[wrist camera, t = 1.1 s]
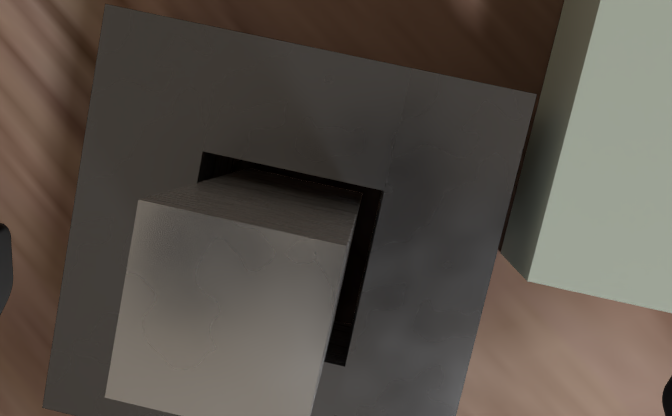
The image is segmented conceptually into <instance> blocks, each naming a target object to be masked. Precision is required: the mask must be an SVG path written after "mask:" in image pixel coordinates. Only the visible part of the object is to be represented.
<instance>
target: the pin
mask: <svg viewBox="0 0 672 416" xmlns="http://www.w3.org/2000/svg"><path fill="white" fill-rule="evenodd" d="M362 194H363V193H361V192H357V191H352V190H348V189H343V188H339V187H334V186H329V185H325V184H320V183H316V182H311V181H307V180H302V179H297V178H293V177H288V176H284V175H279V174H275V173H270V172H266V171H261V170H256V169H252V168H247V169H244V170H240V171H237V172H233V173H230V174H226V175H223V176H219V177H216V178H212V179H209V180H205V181H202V182H198V183H195V184H191V185H188V186H184V187H181V188H177V189H174V190H170V191H167V192H163V193H160V194H156V195H153V196H149V197H146V198H142V199H139V200H138V205H137V211H136V217H135V223H134V229H133V235H132V240H131V246H130V252H129V258H128V264H127V270H126V276H125V282H124V287H123V293H122V299H121V305H120V311H119V317H118V323H117V328H116V334H115V340H114V346H113V352H112V358H111V364H110V370H109V375H108V381H107V387H106V393H105V398H109V399H113V400H117V401H121V402H125V403H130V404H134V405H138V406H142V407H146V408H151V409H155V410H159V411H163V412H167V413H172V414H176V415H180V416H311V412H312V408H313V404H314V400H315V396H316V392H317V388H318V384H319V380H320V376H321V372H322V368H323V364H324V360H325V356H326V352H327V348H328V344H329V340H330V336H331V332H332V328H333V324H334V320H335V316H336V312H337V308H338V304H339V299H340V295H341V290H342V285H343V281H344V276H345V272H346V267H347V263H348V258H349V254H350V249H351V244H352V240H353V235H354V231H355V226H356V222H357V217H358V212H359V208H360V203H361V199H362Z"/></svg>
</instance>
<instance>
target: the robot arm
mask: <svg viewBox="0 0 672 416" xmlns="http://www.w3.org/2000/svg"><path fill="white" fill-rule="evenodd" d="M12 284H13V267H12V249H11V235H10V231H9V229H8V227H7V226H6V225H4V224H2V223H0V315H1V313H2V310H3V308H4V306H5V304H6V302H7V300H8V298H9V296H10V293H11V289H12ZM662 403H663V408H664V412H665V416H672V376H671V378H670V379H669V381H668V382H667V384H666V386H665V388H664V391H663V396H662Z"/></svg>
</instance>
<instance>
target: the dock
mask: <svg viewBox="0 0 672 416" xmlns="http://www.w3.org/2000/svg"><path fill="white" fill-rule="evenodd" d="M501 254H502V255H503V256H504V257H505V258H506V259H507V260H508V261H509V262H510V264H511V265H512V266H513V267H514V268H515V269H516V270H517V271H518V272H519V273H520V274H521V275H522V276H523V277H524V278H525V279H526V280H527V281H529V282H534V283H538V284H543V285H547V286H552V287H556V288H561V289H565V290H570V291H574V292H579V293H583V294H588V295H592V296H597V297H601V298H606V299H610V300H615V301H619V302H624V303H628V304H633V305H637V306H642V307H646V308H651V309H655V310H660V311H664V312H669V313H672V0H564V4H563V8H562V12H561V16H560V20H559V24H558V28H557V32H556V35H555V39H554V43H553V47H552V51H551V55H550V59H549V63H548V67H547V71H546V75H545V79H544V83H543V87H542V91H541V95H540V99H539V103H538V107H537V111H536V115H535V118H534V122H533V126H532V130H531V134H530V138H529V142H528V146H527V150H526V154H525V158H524V162H523V166H522V170H521V174H520V178H519V182H518V186H517V190H516V194H515V197H514V201H513V205H512V209H511V213H510V217H509V221H508V225H507V229H506V233H505V237H504V241H503V245H502V249H501Z"/></svg>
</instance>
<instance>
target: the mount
mask: <svg viewBox="0 0 672 416" xmlns="http://www.w3.org/2000/svg"><path fill="white" fill-rule="evenodd" d="M536 96H537V94H533V93H528V92H523V91H519V90H514V89H509V88H504V87H500V86H495V85H490V84H485V83H481V82H476V81H471V80H466V79H461V78H457V77H452V76H447V75H442V74H438V73H433V72H428V71H423V70H418V69H414V68H409V67H404V66H399V65H395V64H390V63H385V62H380V61H375V60H371V59H366V58H361V57H356V56H352V55H347V54H342V53H337V52H332V51H328V50H323V49H318V48H313V47H309V46H304V45H299V44H294V43H289V42H285V41H280V40H275V39H270V38H266V37H261V36H256V35H251V34H246V33H242V32H237V31H232V30H227V29H223V28H218V27H213V26H208V25H204V24H199V23H194V22H189V21H184V20H180V19H175V18H170V17H165V16H161V15H156V14H151V13H146V12H141V11H137V10H132V9H127V8H122V7H118V6H113V5H108V4H105V9H104V15H103V22H102V28H101V35H100V41H99V47H98V54H97V60H96V67H95V73H94V79H93V86H92V92H91V99H90V105H89V112H88V118H87V124H86V131H85V137H84V144H83V150H82V157H81V163H80V169H79V176H78V182H77V189H76V195H75V201H74V208H73V214H72V221H71V227H70V234H69V240H68V246H67V253H66V259H65V266H64V272H63V278H62V285H61V291H60V298H59V304H58V311H57V317H56V323H55V330H54V336H53V343H52V349H51V356H50V362H49V368H48V375H47V381H46V388H45V394H44V400H43V407H42V408H45V409H50V410H54V411H58V412H62V413H66V414H70V415H75V416H180V415H176V414H172V413H167V412H163V411H159V410H155V409H151V408H146V407H142V406H138V405H134V404H130V403H125V402H121V401H117V400H113V399H109V398H105V393H106V387H107V381H108V375H109V370H110V364H111V358H112V352H113V346H114V340H115V334H116V328H117V323H118V317H119V311H120V305H121V299H122V293H123V287H124V282H125V276H126V270H127V264H128V258H129V252H130V246H131V240H132V235H133V229H134V223H135V217H136V211H137V205H138V200H139V199H142V198H146V197H149V196H153V195H156V194H160V193H163V192H167V191H170V190H174V189H177V188H181V187H184V186H188V185H191V184H195V183H198V182H202V181H205V180H209V179H212V178H216V177H219V176H223V175H226V174H230V173H231V167H232V162H233V158H236V159H240V160H245V161H250V162H254V163H259V164H263V165H268V166H272V167H277V168H282V169H286V170H291V171H295V172H300V173H305V174H309V175H314V176H318V177H323V178H327V179H332V180H337V181H341V182H346V183H350V184H355V185H359V186H364V187H369V188H373V189H378V190H381V194H380V199H379V203H378V208H377V212H376V217H375V221H374V226H373V230H372V235H371V239H370V244H369V248H368V253H367V257H366V262H365V266H364V271H363V275H362V280H361V284H360V289H359V293H358V298H357V302H356V306H355V311H354V315H353V320H352V324H348V323H344V322H340V321H335V320H334V324H333V328H332V332H331V336H330V340H329V344H328V348H327V352H326V356H325V360H324V364H323V368H322V372H321V376H320V380H319V384H318V388H317V392H316V396H315V400H314V404H313V408H312V412H311V416H456V413H457V409H458V405H459V401H460V397H461V393H462V389H463V385H464V381H465V377H466V373H467V369H468V365H469V361H470V357H471V353H472V349H473V345H474V341H475V338H476V334H477V330H478V326H479V322H480V318H481V314H482V310H483V306H484V302H485V298H486V294H487V290H488V286H489V282H490V278H491V274H492V270H493V266H494V262H495V258H496V254H497V250H498V246H499V242H500V238H501V234H502V230H503V227H504V223H505V219H506V215H507V211H508V207H509V203H510V199H511V195H512V191H513V187H514V183H515V179H516V175H517V171H518V167H519V163H520V159H521V155H522V151H523V147H524V143H525V139H526V135H527V131H528V127H529V123H530V120H531V116H532V112H533V108H534V104H535V100H536Z"/></svg>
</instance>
